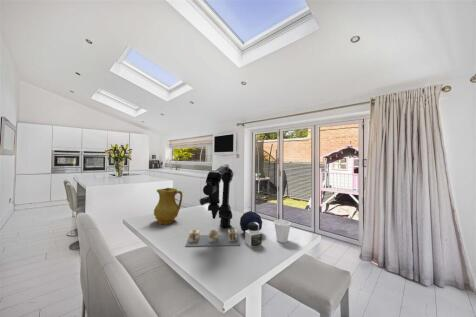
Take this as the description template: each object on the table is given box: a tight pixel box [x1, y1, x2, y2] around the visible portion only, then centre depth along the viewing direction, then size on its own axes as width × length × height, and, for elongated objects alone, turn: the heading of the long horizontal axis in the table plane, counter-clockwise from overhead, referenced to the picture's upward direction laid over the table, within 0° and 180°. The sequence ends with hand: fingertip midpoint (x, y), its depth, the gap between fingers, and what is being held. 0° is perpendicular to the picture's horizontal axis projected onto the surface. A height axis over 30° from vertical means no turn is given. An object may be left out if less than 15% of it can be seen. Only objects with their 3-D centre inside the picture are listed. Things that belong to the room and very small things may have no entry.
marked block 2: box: [227, 228, 238, 241], centre depth 113 cm, size 5×5×5 cm
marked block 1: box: [188, 229, 200, 242], centre depth 111 cm, size 5×5×5 cm
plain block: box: [208, 229, 219, 242], centre depth 112 cm, size 5×5×5 cm
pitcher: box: [153, 187, 183, 225], centre depth 143 cm, size 17×19×25 cm
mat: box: [185, 234, 241, 248], centre depth 112 cm, size 30×14×1 cm, turn 95°
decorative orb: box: [239, 210, 263, 234], centre depth 124 cm, size 14×15×15 cm
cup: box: [273, 219, 292, 244], centre depth 114 cm, size 10×10×11 cm
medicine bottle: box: [244, 222, 263, 248], centre depth 109 cm, size 7×7×12 cm
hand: (213, 218), depth 112 cm, fingers closed
